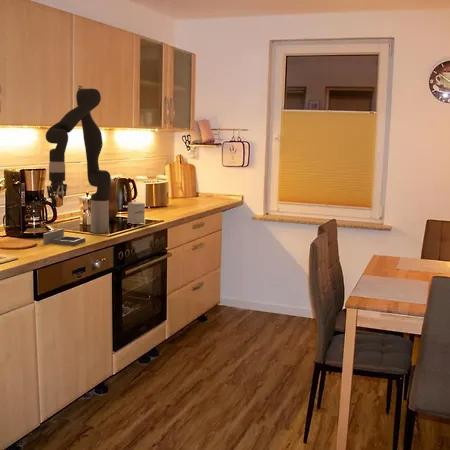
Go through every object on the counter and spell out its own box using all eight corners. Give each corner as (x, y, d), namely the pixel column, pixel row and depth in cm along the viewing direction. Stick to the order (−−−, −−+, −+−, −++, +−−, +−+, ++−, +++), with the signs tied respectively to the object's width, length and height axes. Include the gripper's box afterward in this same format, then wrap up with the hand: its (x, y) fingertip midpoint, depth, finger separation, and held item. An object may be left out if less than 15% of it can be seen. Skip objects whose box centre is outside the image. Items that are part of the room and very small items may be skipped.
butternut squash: (90, 221, 354) (91, 179, 350) (101, 218, 367) (101, 177, 363) (112, 223, 351) (112, 180, 346) (122, 220, 363) (122, 178, 359)
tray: (65, 239, 297) (65, 235, 296) (85, 242, 294) (85, 237, 293) (53, 243, 286) (53, 239, 286) (73, 246, 283) (73, 241, 283)
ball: (55, 206, 293) (55, 196, 292) (64, 207, 292) (64, 196, 291) (49, 207, 289) (49, 197, 288) (58, 208, 287) (58, 197, 286)
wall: (61, 238, 300) (61, 228, 299) (63, 238, 300) (63, 228, 299) (43, 243, 285) (43, 233, 284) (45, 244, 285) (45, 233, 284)
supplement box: (133, 225, 346) (134, 203, 344) (127, 223, 352) (127, 202, 350) (144, 224, 351) (145, 203, 349) (137, 222, 357) (138, 201, 354)
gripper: (58, 169, 295) (58, 203, 298) (41, 171, 282) (41, 207, 284) (72, 170, 293) (72, 205, 296) (55, 172, 279) (55, 208, 282)
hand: (57, 206), depth 290 cm, fingers closed on ball, 5 cm apart
